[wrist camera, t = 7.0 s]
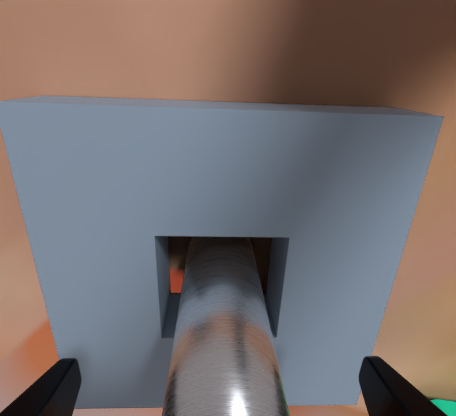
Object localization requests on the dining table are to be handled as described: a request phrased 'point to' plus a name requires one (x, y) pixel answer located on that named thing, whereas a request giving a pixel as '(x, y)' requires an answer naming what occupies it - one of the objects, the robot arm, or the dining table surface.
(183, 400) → the pin
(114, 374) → the socket plate
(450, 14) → the dining table surface
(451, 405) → the camera mount
